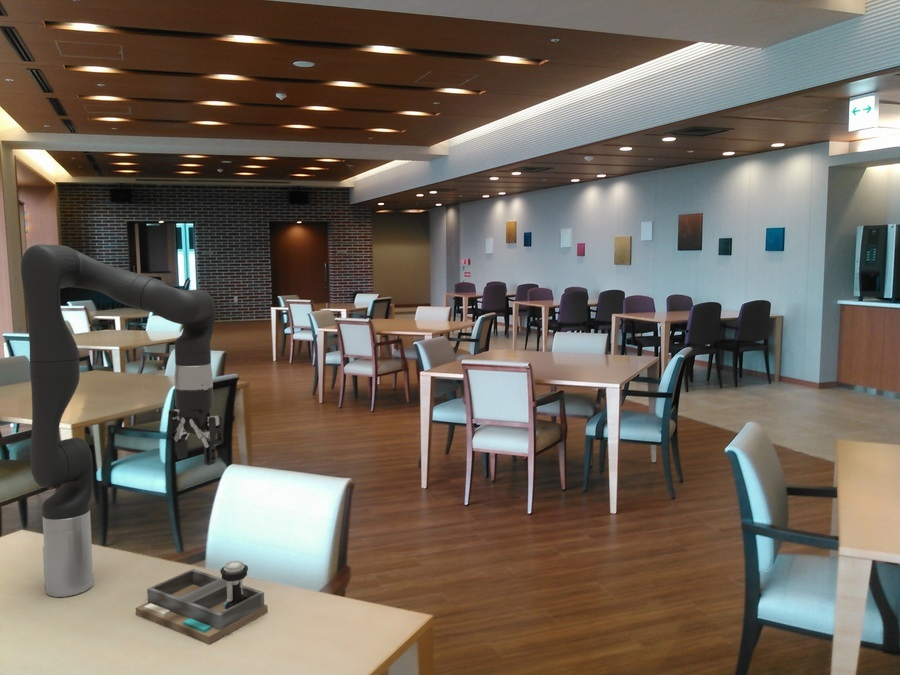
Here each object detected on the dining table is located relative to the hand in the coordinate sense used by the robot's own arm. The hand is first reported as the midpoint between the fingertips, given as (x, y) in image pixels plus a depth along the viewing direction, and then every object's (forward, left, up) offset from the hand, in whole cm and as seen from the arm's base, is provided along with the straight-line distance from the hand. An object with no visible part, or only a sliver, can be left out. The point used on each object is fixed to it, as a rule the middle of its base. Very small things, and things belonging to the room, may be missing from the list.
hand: (196, 461), depth 152 cm
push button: (+14, -3, -29) cm, 32 cm away
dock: (+6, -4, -30) cm, 31 cm away
